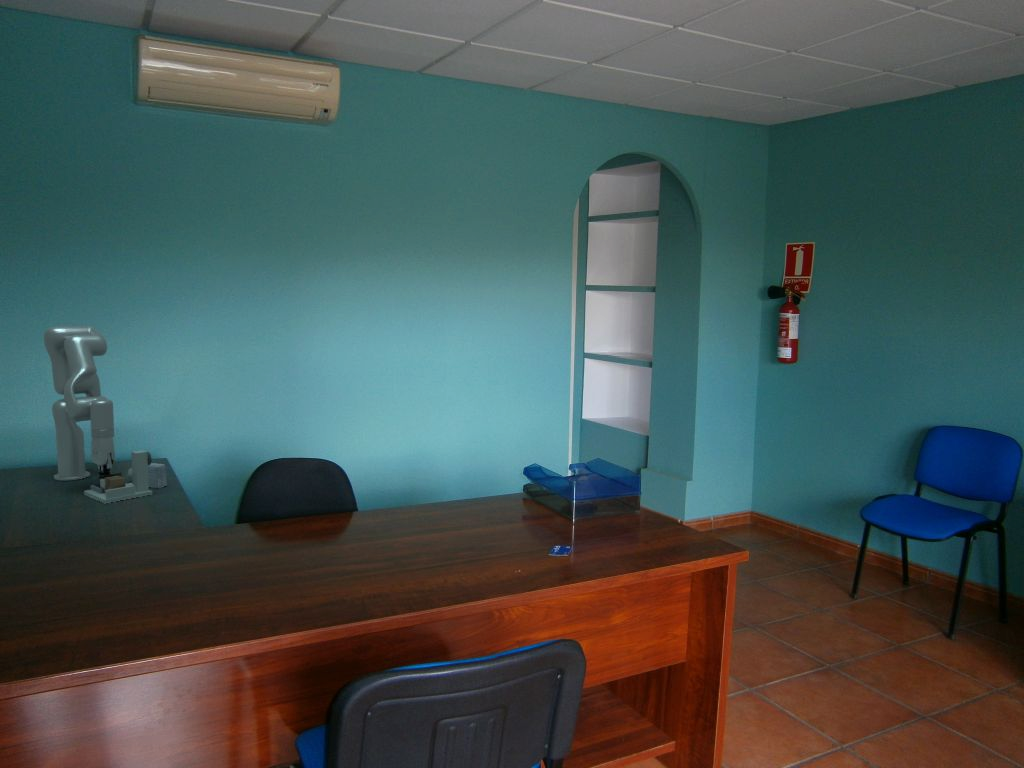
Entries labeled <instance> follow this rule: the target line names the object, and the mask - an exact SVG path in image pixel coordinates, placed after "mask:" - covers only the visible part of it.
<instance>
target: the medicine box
mask: <svg viewBox="0 0 1024 768" xmlns="http://www.w3.org/2000/svg"><path fill="white" fill-rule="evenodd" d="M166 469H167V467H166V464H163V463H155V462H154V463H153V462H151V464H150V465H148V485H149V487H151V489H157V488H159V489H162V488H164V486H166V487H167V472H166V471H167V470H166ZM161 487H162V488H161Z"/></svg>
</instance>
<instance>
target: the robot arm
mask: <svg viewBox="0 0 1024 768" xmlns="http://www.w3.org/2000/svg"><path fill="white" fill-rule="evenodd" d="M43 333H44V334H43V344H44V347H45V350H46V352H47V353H48V357H49V358H50V362H51V371H52V372H51V373H52V380H53V387H54V390H55V392H56V394H58V395H63V398H61V399H58V400H56V401H55V402H53V404H52V406H51V412H52V416H53V421H54V422H53V423H54V426H55V436H56V456H57V473H56V474H54V475H53V479H54V480H55V481H65V482H66V481H67V482H68V481H78V479H79V480H83V478H84V479H87V478H89V477H90V476H91V472H89V471H87V470H86V453H85V434H84V431H83V429H82V428H81V427H80V426H79V425H78V424H77V423H79V422H86V421H90V437H91V443H90V444H91V445H90V458H91V459H90V461H91V463H93V464H95V465H97V467H98V468H97V469H98V470H97V471H98V473H99V474H98V476H99V475H105V474H111V469H112V468H113V465H114V464H115V463H116V454H115V453H116V451H115V444H114V438H115V424H114V423H115V422H114V416H115V415H114V403H113V401H112V400H111V399H109V398H108V397H106V396H102V392H101V383H100V378H99V375H98V373H97V371H98V370H97V366H96V363H95V359H94V357H100V356H101V357H102V356H104V355H105V354H106V353H107V350H108V343H107V341H106V338H105V336H104V335H103V334H102V333H101V332H100V331H98V330H97V329H96V328H95V327H93V326H91V325H56V326H50V327H48V328H47V329H45V331H44V332H43ZM80 394H85V396H81V397H76V395H80ZM86 477H87V478H86ZM98 481H99V483H100V479H99V480H98Z"/></svg>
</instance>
